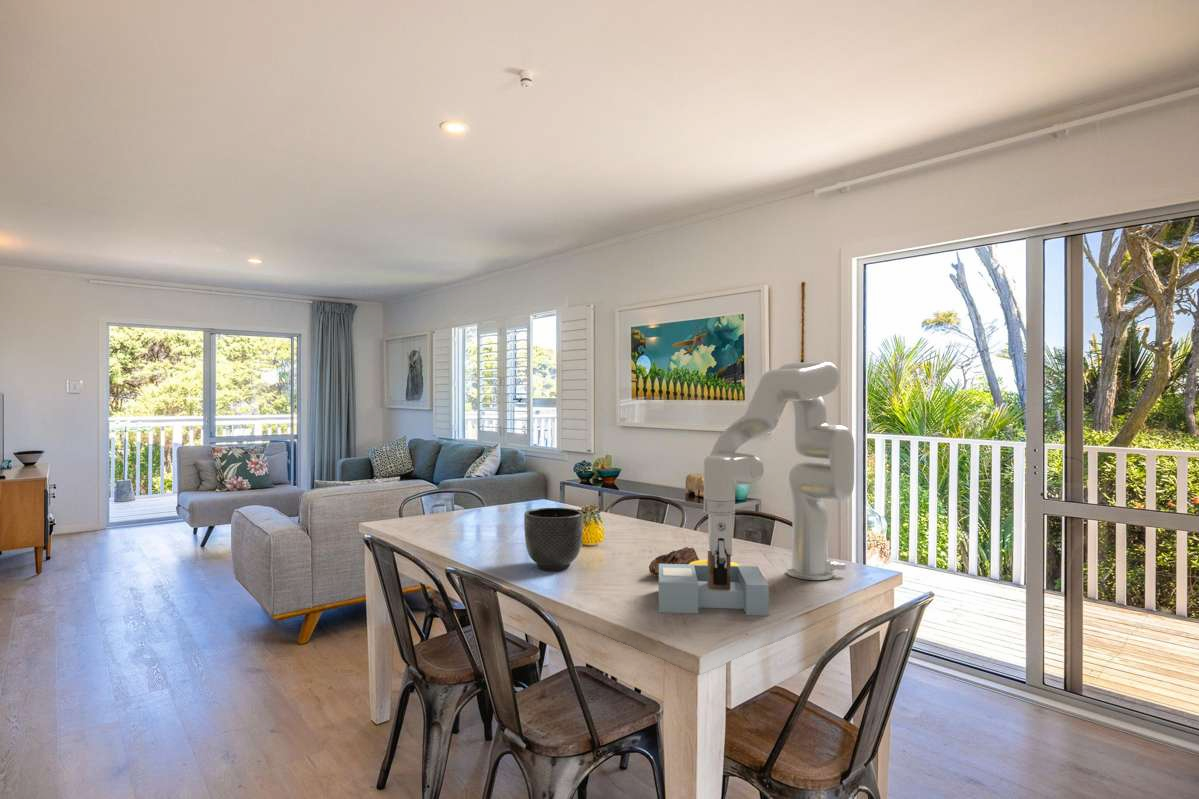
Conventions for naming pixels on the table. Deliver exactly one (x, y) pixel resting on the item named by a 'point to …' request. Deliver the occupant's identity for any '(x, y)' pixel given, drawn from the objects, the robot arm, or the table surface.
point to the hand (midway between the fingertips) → (718, 579)
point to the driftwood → (673, 559)
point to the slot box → (711, 590)
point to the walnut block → (710, 572)
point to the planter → (553, 536)
